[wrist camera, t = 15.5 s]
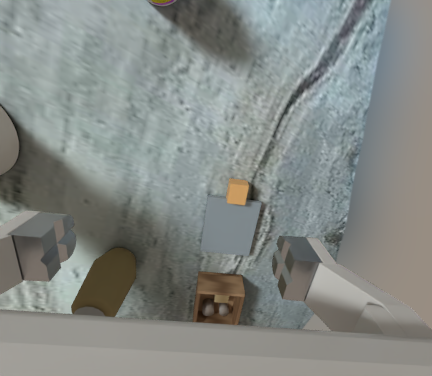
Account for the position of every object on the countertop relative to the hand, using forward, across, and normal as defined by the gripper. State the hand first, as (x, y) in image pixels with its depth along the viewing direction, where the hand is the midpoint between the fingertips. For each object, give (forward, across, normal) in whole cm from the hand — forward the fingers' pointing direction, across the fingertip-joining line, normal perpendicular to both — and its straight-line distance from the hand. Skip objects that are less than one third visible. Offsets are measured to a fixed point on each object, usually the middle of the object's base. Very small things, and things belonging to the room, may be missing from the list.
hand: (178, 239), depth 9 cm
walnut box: (+29, -7, +34) cm, 45 cm away
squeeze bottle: (+29, +13, +27) cm, 42 cm away
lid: (+29, -7, +15) cm, 34 cm away
